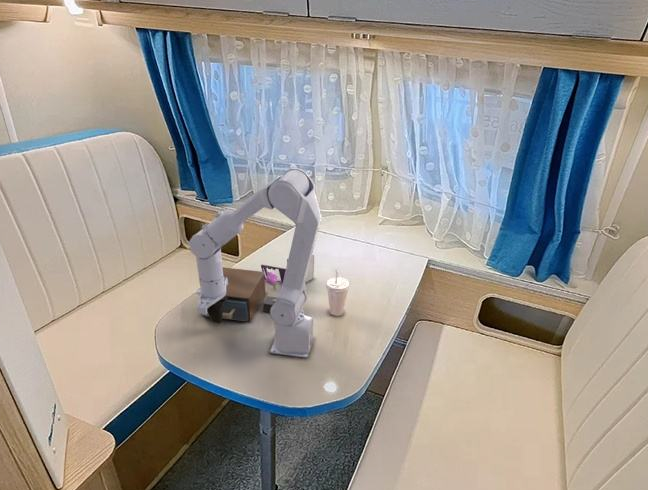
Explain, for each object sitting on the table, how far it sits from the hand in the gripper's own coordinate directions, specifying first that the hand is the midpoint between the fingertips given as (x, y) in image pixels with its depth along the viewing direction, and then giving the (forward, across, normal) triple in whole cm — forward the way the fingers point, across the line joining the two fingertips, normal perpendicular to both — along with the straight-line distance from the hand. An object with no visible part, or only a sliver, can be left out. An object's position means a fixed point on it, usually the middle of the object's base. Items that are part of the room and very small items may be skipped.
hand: (216, 321), depth 110 cm
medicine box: (+4, -30, +15) cm, 34 cm away
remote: (+3, -13, +13) cm, 19 cm away
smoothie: (+3, -15, +29) cm, 33 cm away
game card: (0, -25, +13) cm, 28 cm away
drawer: (+3, -10, 0) cm, 10 cm away
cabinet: (+3, -13, 0) cm, 14 cm away
